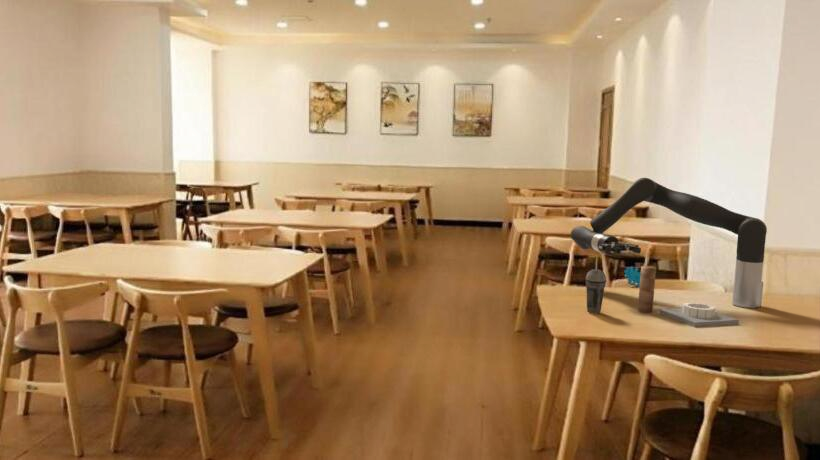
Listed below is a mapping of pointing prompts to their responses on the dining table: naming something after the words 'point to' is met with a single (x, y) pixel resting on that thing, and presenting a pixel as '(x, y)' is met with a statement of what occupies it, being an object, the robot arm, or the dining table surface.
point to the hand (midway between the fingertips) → (630, 251)
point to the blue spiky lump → (633, 276)
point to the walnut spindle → (646, 289)
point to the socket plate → (698, 320)
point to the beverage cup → (595, 289)
